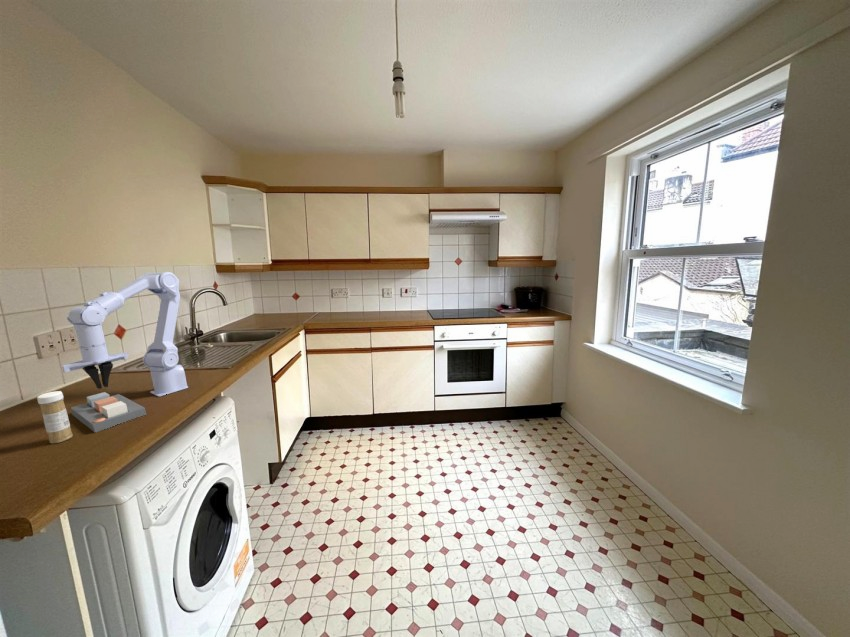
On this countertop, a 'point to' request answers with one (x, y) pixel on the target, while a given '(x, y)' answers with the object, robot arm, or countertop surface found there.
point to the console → (100, 422)
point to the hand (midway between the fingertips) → (102, 387)
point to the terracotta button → (104, 403)
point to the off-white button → (114, 409)
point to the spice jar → (55, 416)
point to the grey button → (96, 398)
